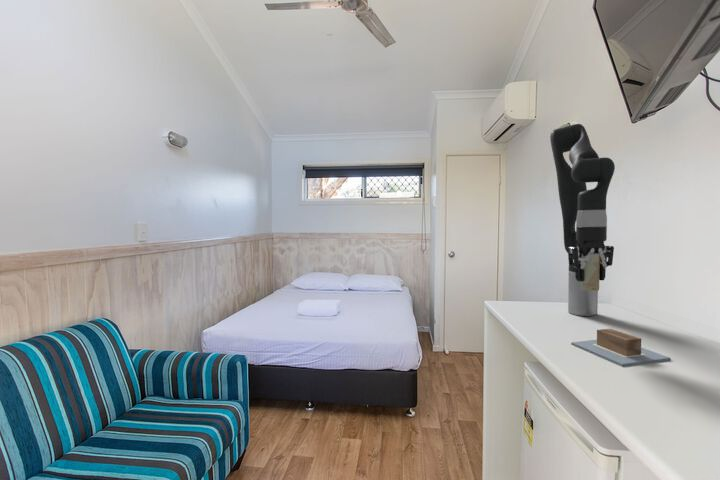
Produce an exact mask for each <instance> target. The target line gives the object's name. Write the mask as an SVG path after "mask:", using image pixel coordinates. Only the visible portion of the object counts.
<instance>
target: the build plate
mask: <svg viewBox="0 0 720 480" xmlns="http://www.w3.org/2000/svg"><path fill="white" fill-rule="evenodd" d="M570 344H571V345H572V346H574V347H577V348H579V349H581V350H583V351H586V352H589V353H590V354H593V355H595V356H597V357H599V358H602V359H604V360H606V361H608V362H610V363H613V364H616V365H618V366H620V367H626V366H633V365H634V366H636V365H643V364H650V363H657V362H663V361H671V360H672V359H671V357H669V356H666V355H663V354H661V353H659V352H655V351H652V350H650V349H647V348H644V347H642V346H641V355H633V356H624V355H622V354H619V353H617V352H614V351H612V350H609V349H607V348H604V347H602V346H599V345H597V339H590V340H583V341H582V340H581V341H572V342H571V343H570Z"/></svg>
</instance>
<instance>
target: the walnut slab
mask: <svg viewBox="0 0 720 480" xmlns="http://www.w3.org/2000/svg"><path fill="white" fill-rule="evenodd" d="M596 340H597V345H599V346H602V347H604V348H607V349H609V350H612V351H614V352H617V353H619V354H622V355H624V356H633V355H641V347H642V338H640V337H638V336H635V335H632V334H629V333H626V332H623V331H619V330H615V329H613V328H602V329H596Z"/></svg>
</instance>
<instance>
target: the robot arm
mask: <svg viewBox="0 0 720 480" xmlns="http://www.w3.org/2000/svg"><path fill="white" fill-rule="evenodd" d="M549 137H550V147H551V150H552V156H553V157H552V158H553V160H554V166H555V171H556V179H557V190H558V196H559V197H558V198H559V202H560V203H559V204H560V209H561V215H562V228H563V229H562V230H563V244H564V249H565V251H566V253H567V255H568V258H567V259H568V285H567V286H568V287H567V288H568V291H567V292H568V296H567V297H568V298H567V300H568V301H567V303H568V304H567V305H568V306H567V307H568V308H567V309H568V310H567V312H568V313H569V314H571V315H575V316H582V317H594V316H595V315H598V307H599V306H598V305H599V304H598V303H599V302H598V299H599V290H598V291H590V290H581V282H582V281H584V267H585V265H586V263H587V262H588V261H589V259H590V257H591V254H593V253H598V254H599V258H600V269H599V281H605V278H606V270H607V267H609V266H610V267H612V265H613V262H614V260H613V259H614V253H615V252H614V250H615V246H613V245H605V242H606V241H607V237H608V236H607V235H608V232H607V230H608V216H607V195H608V190H609V187H610V183H611V181H612V180H613V176H614V173H615V168H616V167H615V166H616V165H615V163H614V161H613V160H612V159H611V158H610V157H599V155H598V153H597V152H596V150H595V149H594V148H593V146H592V144H591V141H590V138H589V135H588V132H587V130H586V128H585V126H584V125H583V124H581V123H574V124H570V125H567V126H566V125H565V126H563V127H559V128H556V129H553V130H551V132H550V135H549ZM568 152H569V154H568V159H569V161H570V164H571V165H572V167H571V166H570V164H568V162H567V161H566V159H565V157H564V153H568ZM587 183H596V186H595V187H594V188H591V189H588V188H587ZM582 254H583V256H585V258H582Z"/></svg>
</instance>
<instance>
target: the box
mask: <svg viewBox="0 0 720 480" xmlns="http://www.w3.org/2000/svg"><path fill="white" fill-rule="evenodd" d="M582 258H585V256H583V254H582ZM599 269H600V258H599V254H598V253H593V254H591V257H590V259H589V261H588V262H587V263H586V265H585V267H584V281H582V282H581V290H590V291H598V292H599V290H600V280H599Z"/></svg>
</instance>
